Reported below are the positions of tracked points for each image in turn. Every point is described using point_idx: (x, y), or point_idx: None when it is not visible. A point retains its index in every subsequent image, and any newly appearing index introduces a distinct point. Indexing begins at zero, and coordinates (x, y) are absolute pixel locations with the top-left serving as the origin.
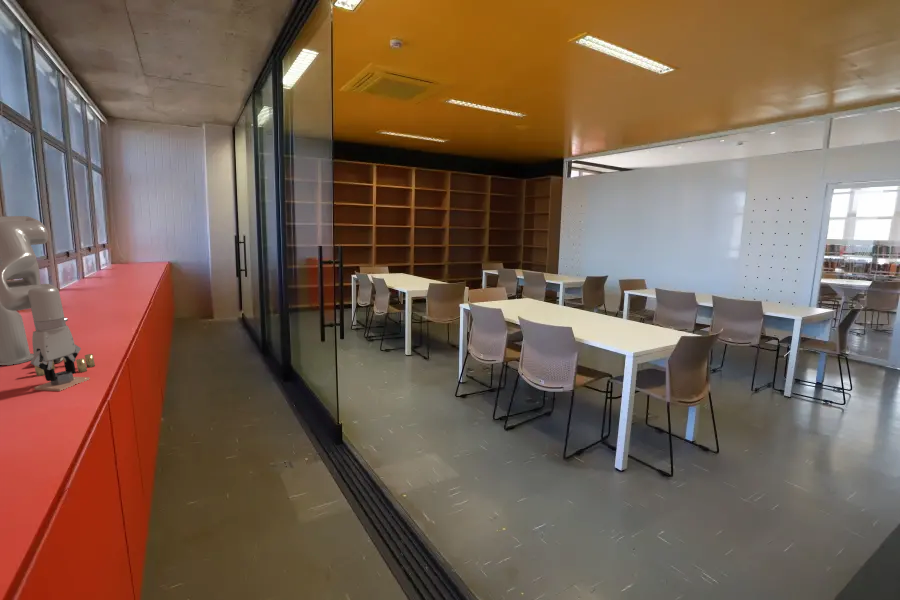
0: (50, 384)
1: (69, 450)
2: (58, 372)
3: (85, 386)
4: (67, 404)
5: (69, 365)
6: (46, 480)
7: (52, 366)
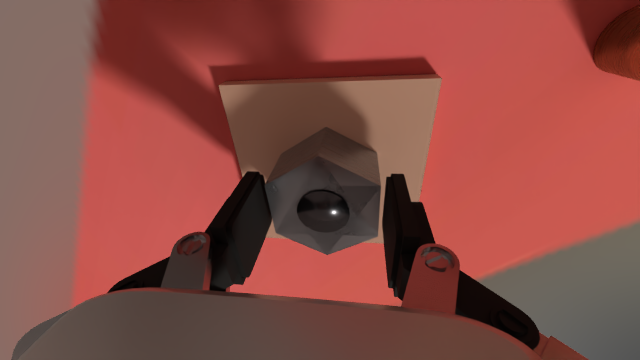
0: (285, 140)
1: None
2: (344, 170)
3: (327, 273)
4: None
5: (389, 256)
6: None
7: None
